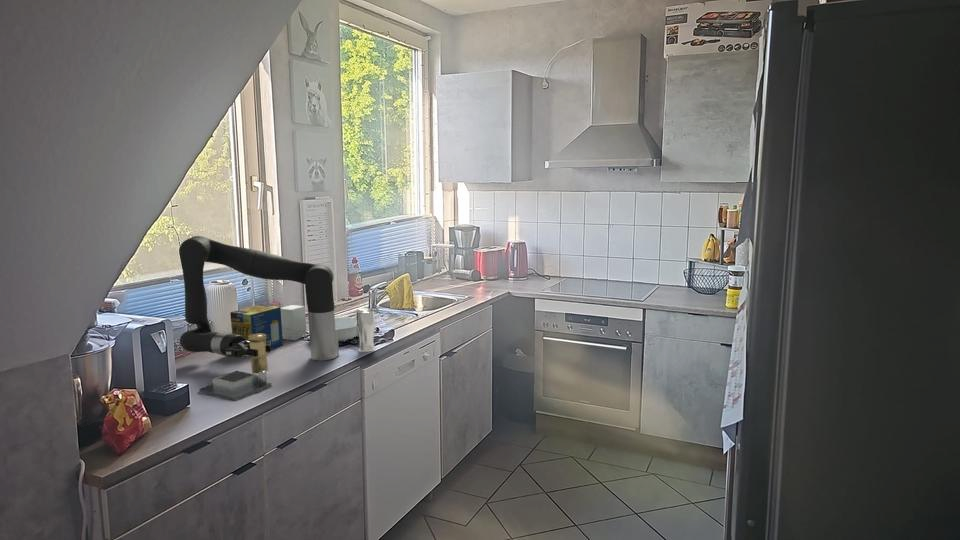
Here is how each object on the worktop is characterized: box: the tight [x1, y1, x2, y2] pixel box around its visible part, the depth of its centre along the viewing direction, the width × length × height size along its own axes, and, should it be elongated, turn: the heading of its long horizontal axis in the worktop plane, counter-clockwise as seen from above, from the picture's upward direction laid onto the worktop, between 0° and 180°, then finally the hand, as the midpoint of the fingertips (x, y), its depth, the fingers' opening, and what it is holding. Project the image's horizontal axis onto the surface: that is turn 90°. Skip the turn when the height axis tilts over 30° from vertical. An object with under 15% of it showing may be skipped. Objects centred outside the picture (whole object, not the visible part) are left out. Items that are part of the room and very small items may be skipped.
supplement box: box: [281, 304, 308, 341], centre depth 258 cm, size 7×7×13 cm
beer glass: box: [355, 308, 376, 353], centre depth 238 cm, size 7×7×15 cm
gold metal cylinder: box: [248, 333, 269, 374], centre depth 210 cm, size 6×6×12 cm
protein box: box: [229, 303, 284, 350], centre depth 242 cm, size 10×15×16 cm
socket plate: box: [198, 370, 272, 402], centre depth 199 cm, size 14×16×5 cm
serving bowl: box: [335, 316, 358, 342], centre depth 255 cm, size 21×21×7 cm
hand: (263, 351), depth 208 cm, fingers closed on gold metal cylinder, 5 cm apart
